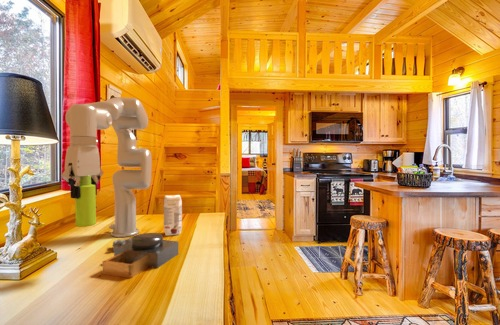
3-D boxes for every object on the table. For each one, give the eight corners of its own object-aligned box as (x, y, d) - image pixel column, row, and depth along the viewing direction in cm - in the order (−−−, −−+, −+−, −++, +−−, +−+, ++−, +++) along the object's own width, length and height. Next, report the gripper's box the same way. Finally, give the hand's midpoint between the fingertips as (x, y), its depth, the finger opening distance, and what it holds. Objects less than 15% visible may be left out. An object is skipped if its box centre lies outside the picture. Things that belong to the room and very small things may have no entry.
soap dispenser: (78, 222, 93) (77, 164, 92) (99, 222, 94) (98, 164, 93) (68, 227, 87) (67, 165, 86) (90, 226, 88) (89, 165, 87)
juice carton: (182, 235, 132) (182, 196, 132) (163, 236, 130) (164, 197, 129) (180, 230, 140) (180, 194, 139) (163, 232, 137) (163, 195, 136)
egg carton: (112, 253, 108) (111, 243, 107) (113, 247, 114) (113, 238, 114) (140, 249, 112) (140, 240, 112) (140, 244, 119) (140, 235, 119)
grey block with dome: (93, 272, 89) (93, 248, 89) (139, 249, 112) (139, 230, 111) (140, 279, 85) (140, 254, 85) (178, 254, 107) (178, 233, 107)
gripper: (95, 143, 99) (96, 192, 99) (49, 141, 82) (50, 200, 83) (112, 143, 97) (112, 193, 97) (69, 141, 80) (69, 201, 81)
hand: (84, 196), depth 90 cm, fingers closed on soap dispenser, 5 cm apart
